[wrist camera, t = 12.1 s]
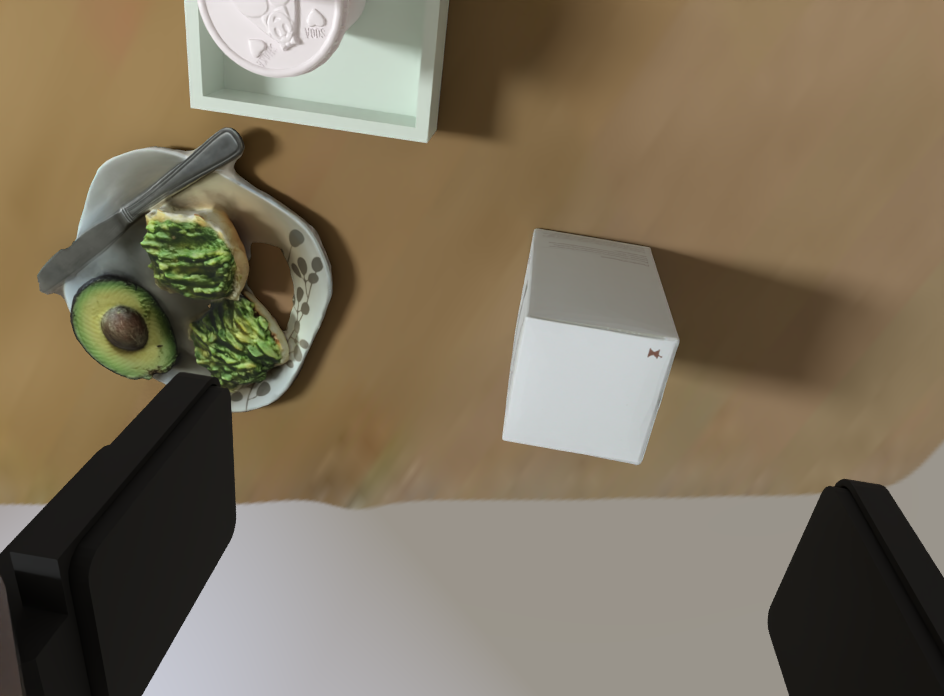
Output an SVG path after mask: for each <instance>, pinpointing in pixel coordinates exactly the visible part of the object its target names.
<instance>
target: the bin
mask: <svg viewBox="0 0 944 696" xmlns="http://www.w3.org/2000/svg"><path fill="white" fill-rule="evenodd" d="M184 5H185V21H186V38H187V54H188V71H189V87H190V104H191V108H196V109H203V110H209V111H216V112H223V113H230V114H236V115H243V116H250V117H256V118H263V119H270V120H276V121H283V122H290V123H297V124H303V125H310V126H317V127H323V128H330V129H337V130H344V131H350V132H357V133H364V134H370V135H377V136H384V137H391V138H397V139H404V140H411V141H417V142H424V143H427V142H428V141H429V140H430V138H431V137H432V136H433V134H434V133H435V132H436V130H437V121H438V111H439V101H440V90H441V80H442V70H443V60H444V49H445V39H446V29H447V19H448V8H449V0H366V3H365V7H364V10H363V12H362V14H361V16H360V17H359V18H358V20H357V21H356V22H355V23H354V24H353V25H352V26H351V27H350V28H349V29H348V30H347V31H346V32H345V34H344V36H343V38H342V40H341V43H340V45H339V47H338V48H337V50H336V51H335V52H334V53H333V54H332V56H331V57H330V58H329V59H328V60H327V62H325V63H324V64H322V65H321V66H319V67H318V68H316V69H315V70H313V71H312V72H309V73H306V74H302V75H299V76H295V77H286V78H273V77H266V76H262V75H258V74H256V73H253V72H251V71H249V70H247V69H245V68H243V67H241V66H240V65H238V64H237V63H235V62H234V61H233V60H231V59H230V58H229V57H228V56H227V55H226V54H225V53H224V52H223V51H222V50H221V49H220V48H219V47H218V45H217V44H216V43H215V41H214V40H213V38H212V37H211V35H210V34H209V32H208V30H207V28H206V26H205V24H204V22H203V19H202V17H201V14H200V11H199V7H198V3H197V0H184Z"/></svg>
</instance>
